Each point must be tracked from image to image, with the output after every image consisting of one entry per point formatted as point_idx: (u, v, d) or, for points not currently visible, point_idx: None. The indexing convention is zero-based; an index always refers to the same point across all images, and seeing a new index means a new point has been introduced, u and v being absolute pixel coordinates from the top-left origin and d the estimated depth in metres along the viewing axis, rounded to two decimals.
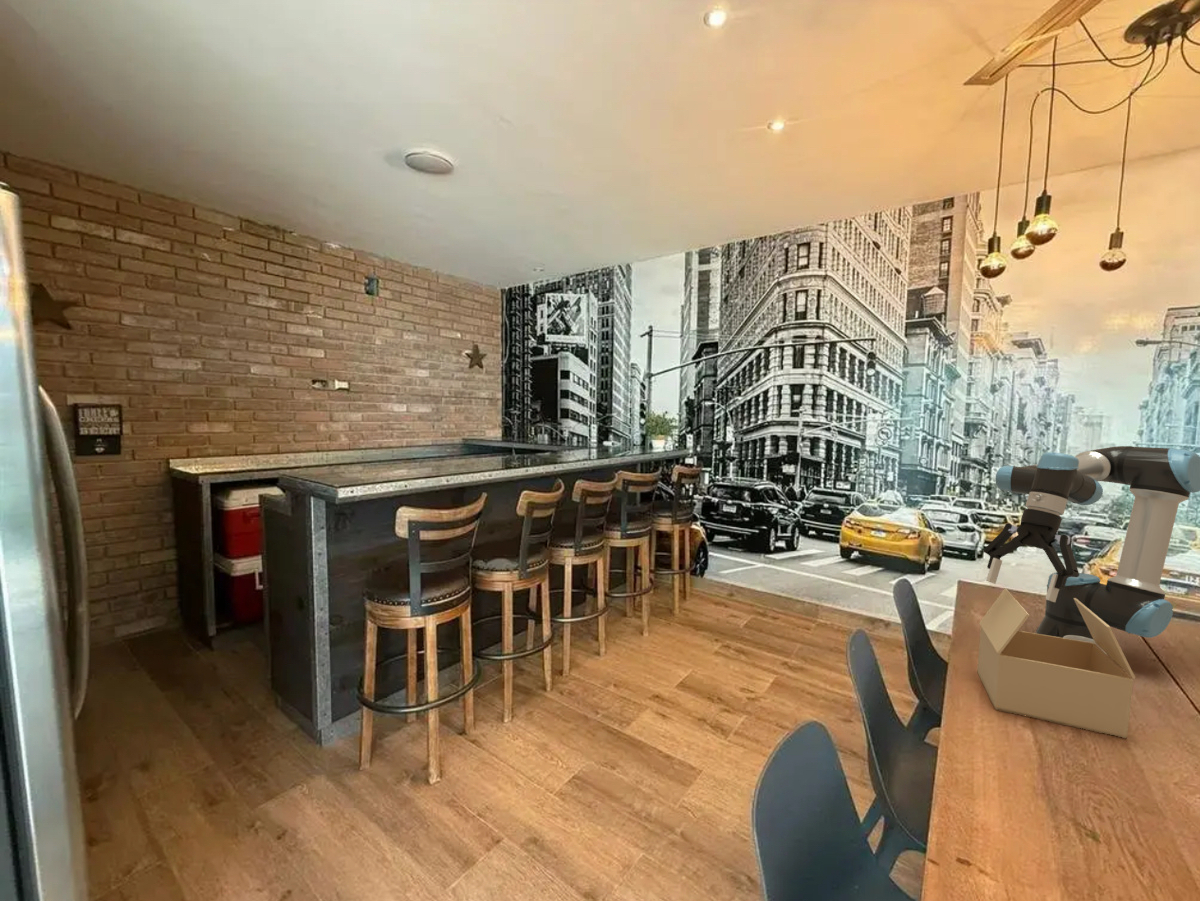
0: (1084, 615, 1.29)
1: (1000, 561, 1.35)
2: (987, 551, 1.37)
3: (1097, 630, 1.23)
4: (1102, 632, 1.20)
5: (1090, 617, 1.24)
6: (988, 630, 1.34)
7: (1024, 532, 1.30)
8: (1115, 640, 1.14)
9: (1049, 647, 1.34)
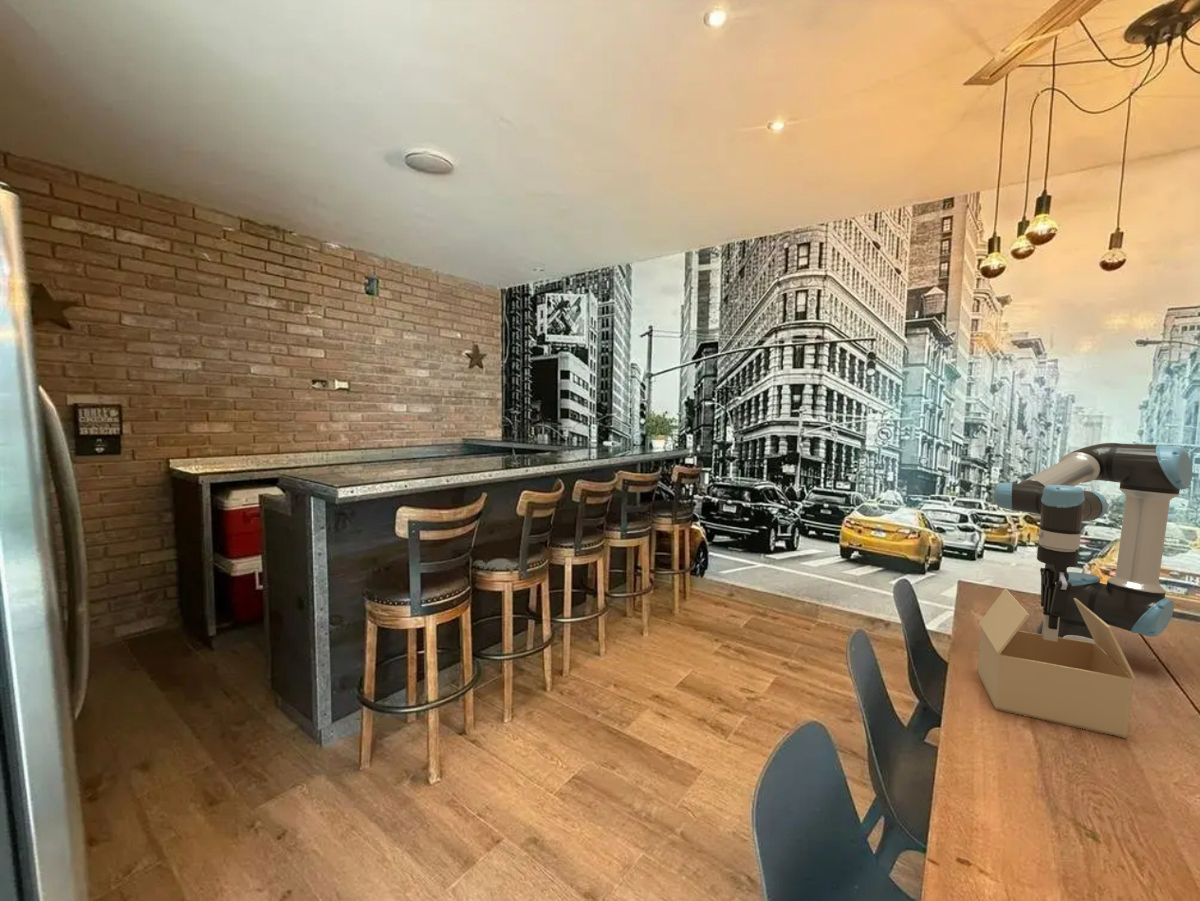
0: (1084, 615, 1.29)
1: None
2: (1042, 603, 1.29)
3: (1097, 630, 1.23)
4: (1102, 632, 1.20)
5: (1090, 617, 1.24)
6: (988, 630, 1.34)
7: (1043, 570, 1.28)
8: (1115, 640, 1.14)
9: (1049, 647, 1.34)
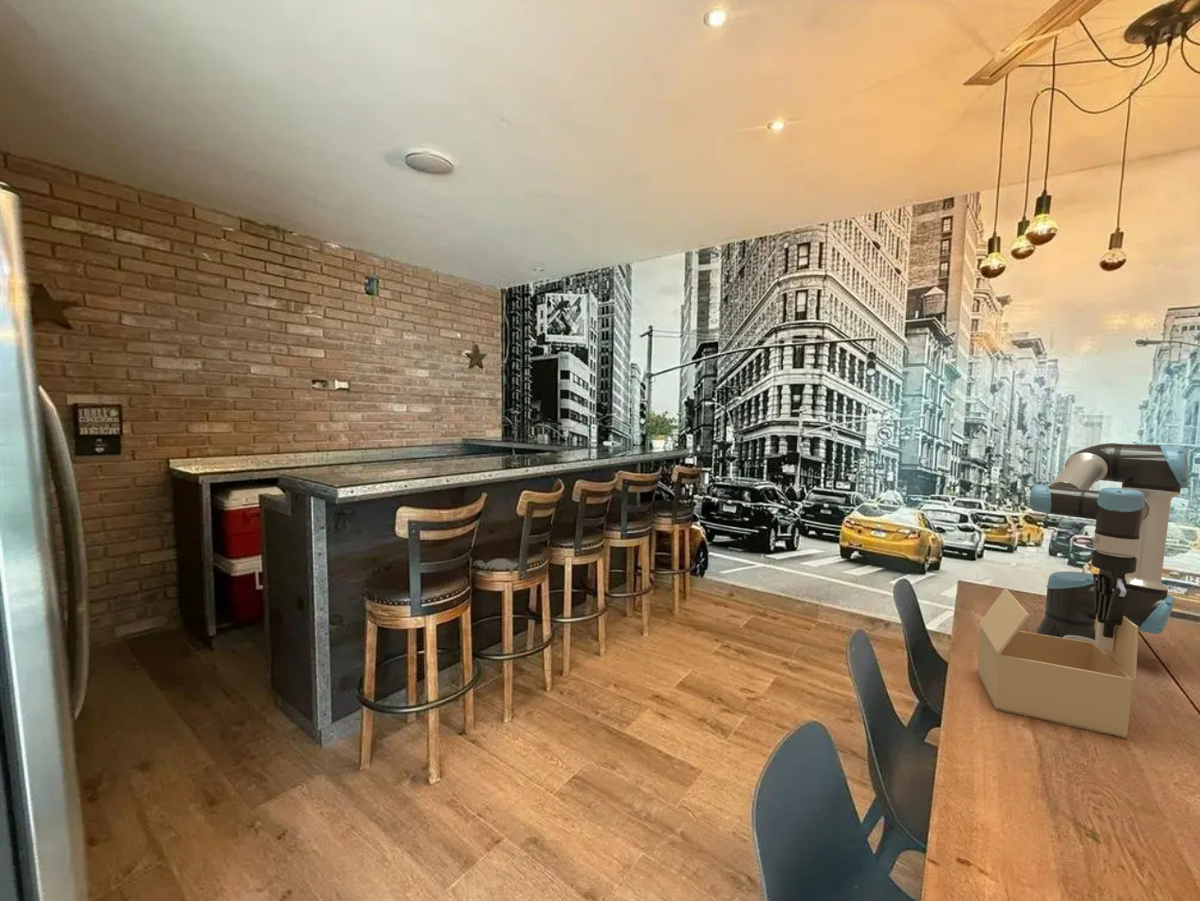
0: None
1: None
2: (1095, 611, 1.25)
3: None
4: (1119, 632, 1.19)
5: None
6: (988, 630, 1.34)
7: (1097, 576, 1.23)
8: (1136, 640, 1.12)
9: (1049, 647, 1.34)
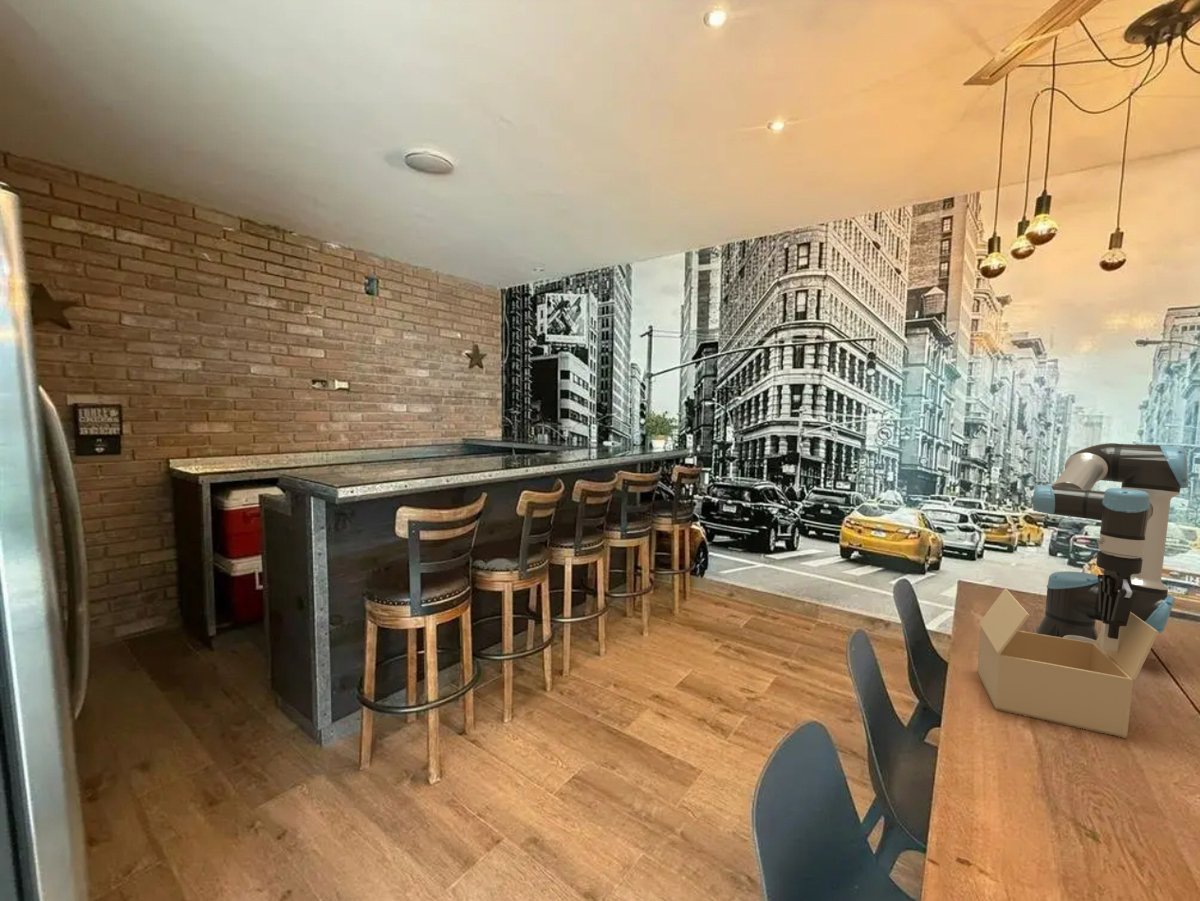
0: None
1: None
2: (1100, 612, 1.24)
3: (1122, 632, 1.21)
4: (1132, 635, 1.18)
5: None
6: (988, 630, 1.34)
7: (1102, 577, 1.23)
8: (1151, 644, 1.11)
9: (1049, 647, 1.34)
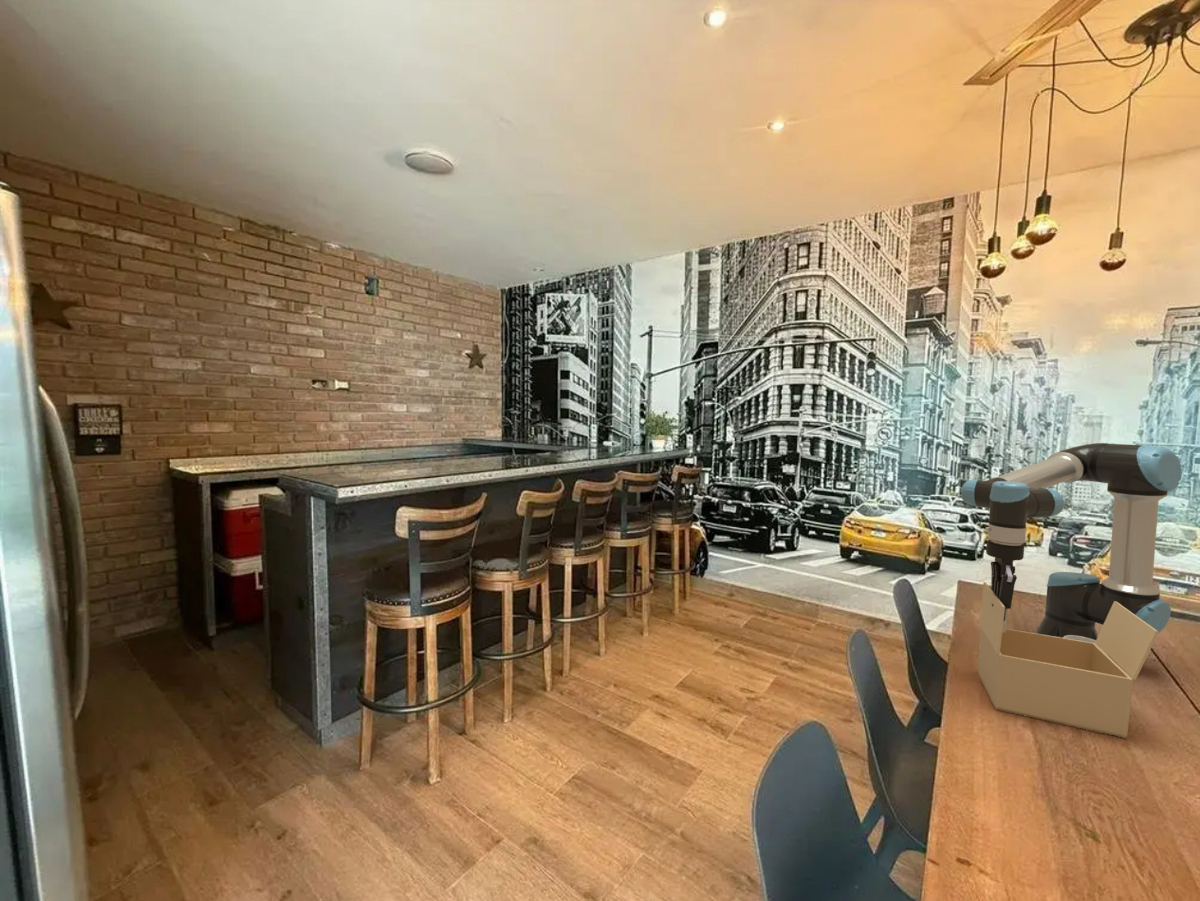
0: (1114, 617, 1.26)
1: None
2: None
3: (1122, 632, 1.21)
4: (1132, 635, 1.18)
5: (1126, 620, 1.21)
6: (986, 630, 1.34)
7: (992, 564, 1.32)
8: (1151, 644, 1.11)
9: (1049, 647, 1.34)
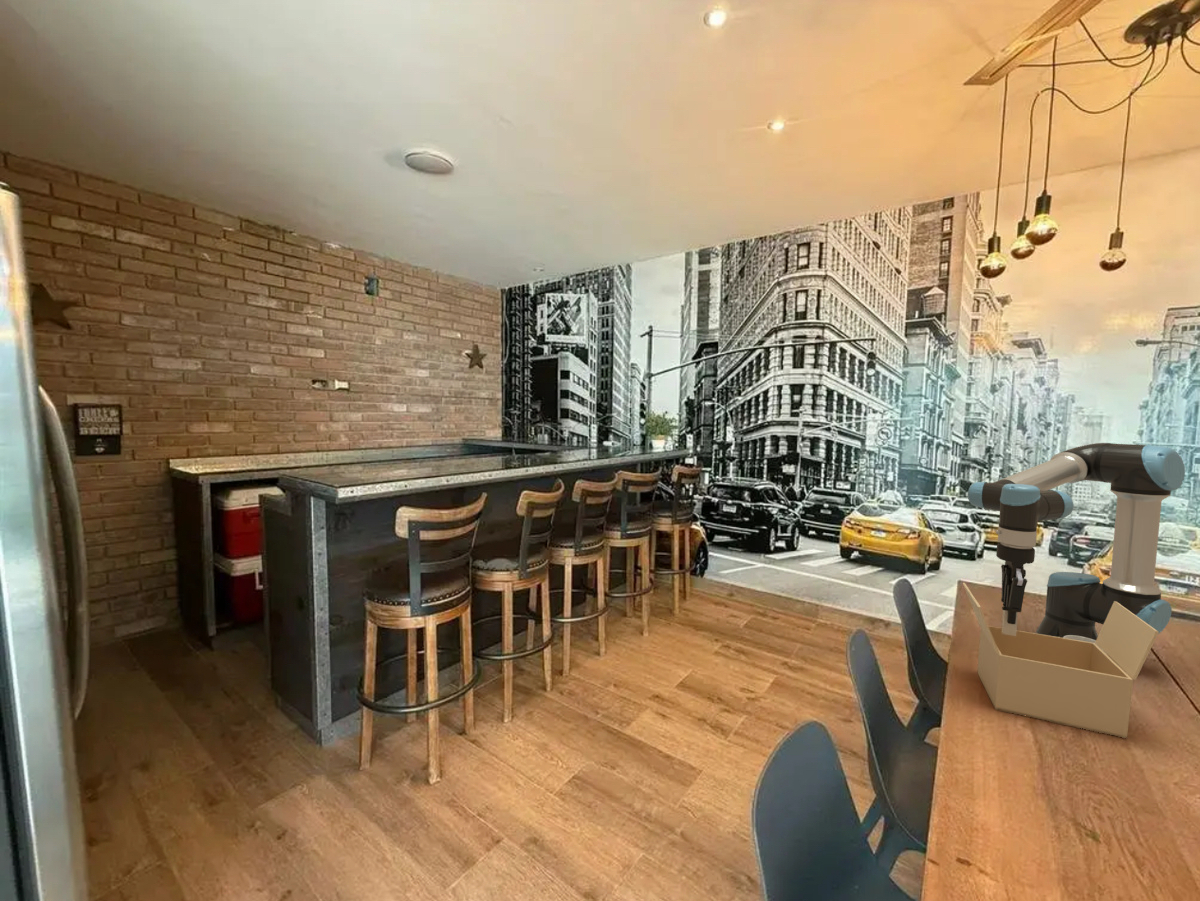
0: (1114, 617, 1.26)
1: None
2: (1002, 599, 1.33)
3: (1122, 632, 1.21)
4: (1132, 635, 1.18)
5: (1126, 620, 1.21)
6: (984, 631, 1.35)
7: (1002, 567, 1.31)
8: (1151, 644, 1.11)
9: (1049, 647, 1.34)
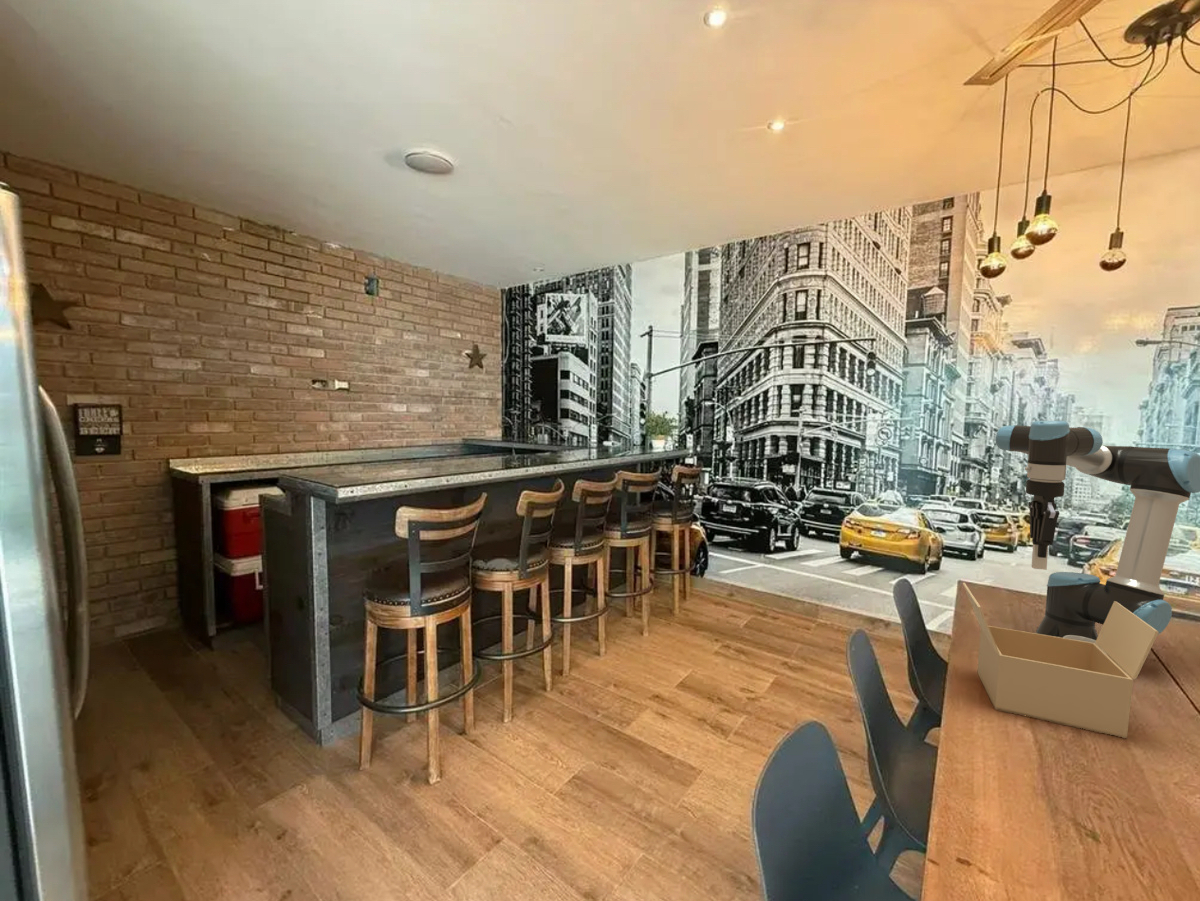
0: (1114, 617, 1.26)
1: None
2: (1031, 535, 1.36)
3: (1122, 632, 1.21)
4: (1132, 635, 1.18)
5: (1126, 620, 1.21)
6: (984, 631, 1.35)
7: (1031, 503, 1.34)
8: (1151, 644, 1.11)
9: (1049, 647, 1.34)
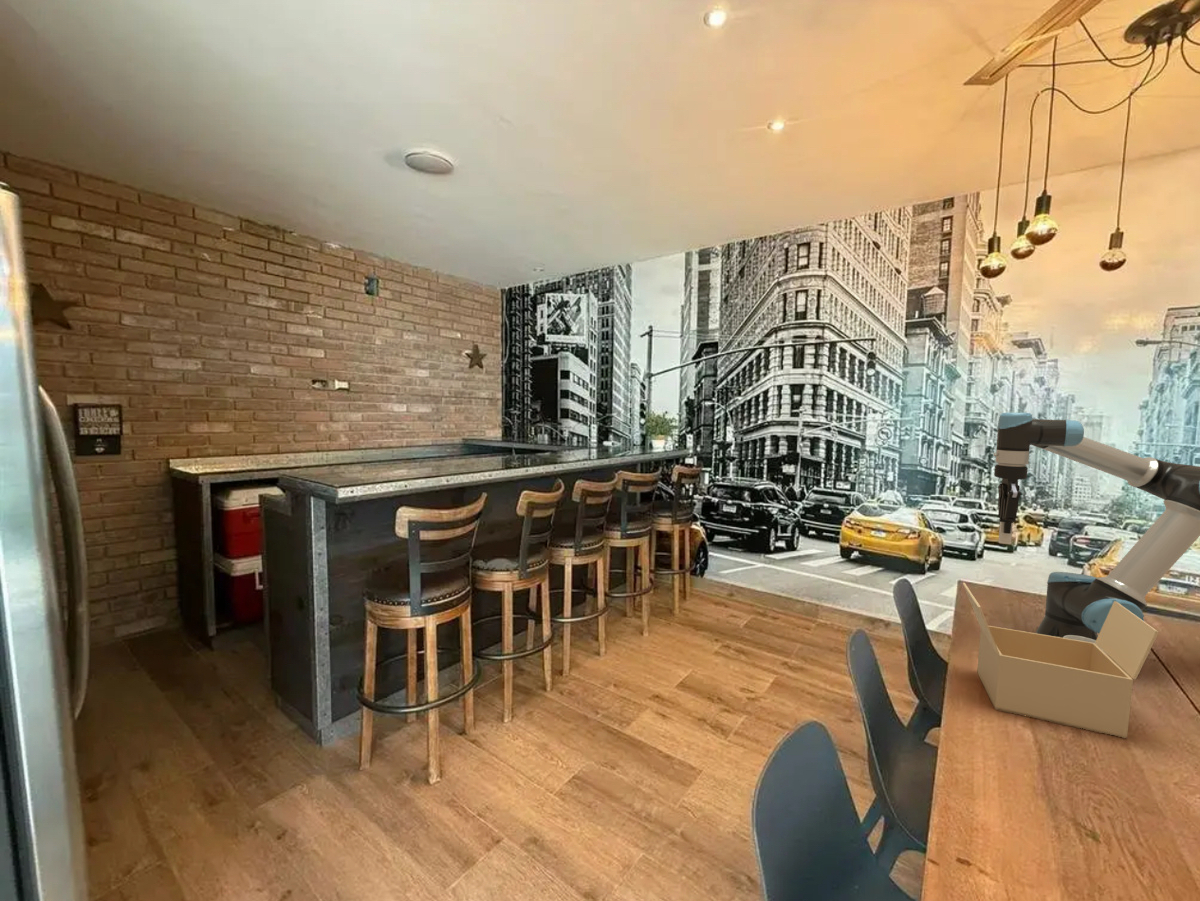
0: (1114, 617, 1.26)
1: None
2: (999, 514, 1.53)
3: (1122, 632, 1.21)
4: (1132, 635, 1.18)
5: (1126, 620, 1.21)
6: (984, 631, 1.35)
7: (999, 485, 1.51)
8: (1151, 644, 1.11)
9: (1049, 647, 1.34)
